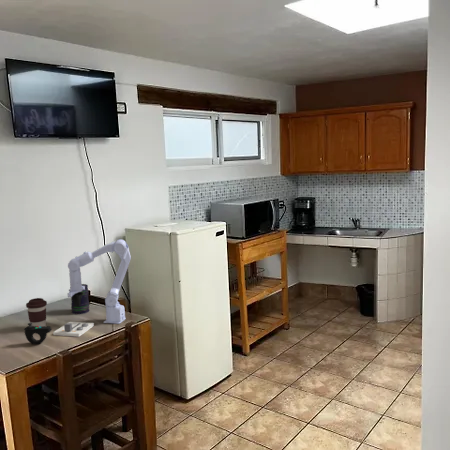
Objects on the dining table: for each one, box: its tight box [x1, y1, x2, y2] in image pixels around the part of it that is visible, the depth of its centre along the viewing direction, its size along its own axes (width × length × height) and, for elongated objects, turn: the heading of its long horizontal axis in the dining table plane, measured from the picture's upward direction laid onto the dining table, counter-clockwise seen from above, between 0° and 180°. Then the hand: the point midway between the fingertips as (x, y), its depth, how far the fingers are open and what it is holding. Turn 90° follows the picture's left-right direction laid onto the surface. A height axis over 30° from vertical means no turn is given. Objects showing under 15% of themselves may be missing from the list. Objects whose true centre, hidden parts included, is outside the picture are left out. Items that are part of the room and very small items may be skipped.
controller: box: [24, 322, 53, 345], centre depth 218 cm, size 4×12×10 cm, turn 91°
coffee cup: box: [25, 297, 48, 326], centre depth 239 cm, size 10×10×15 cm
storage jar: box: [70, 283, 90, 315], centre depth 263 cm, size 10×10×15 cm
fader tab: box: [63, 322, 72, 331], centre depth 229 cm, size 3×2×4 cm, turn 78°
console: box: [52, 321, 95, 338], centre depth 234 cm, size 14×15×2 cm
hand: (77, 306), depth 243 cm, fingers closed
